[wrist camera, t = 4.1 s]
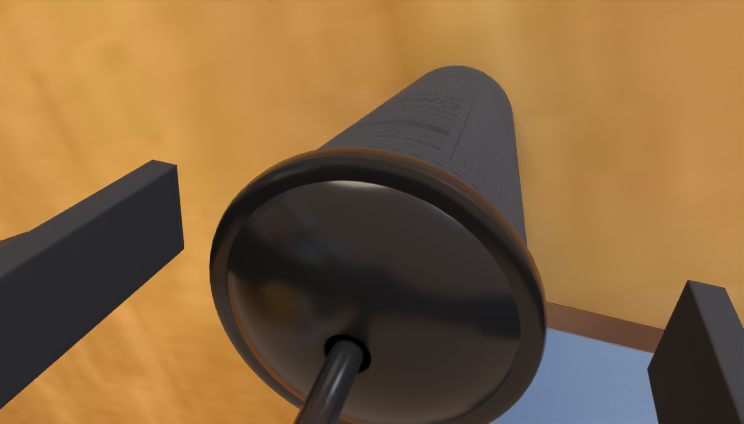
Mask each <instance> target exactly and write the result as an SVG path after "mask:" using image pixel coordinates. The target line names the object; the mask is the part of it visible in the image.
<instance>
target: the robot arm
mask: <svg viewBox="0 0 744 424" xmlns="http://www.w3.org/2000/svg"><path fill="white" fill-rule="evenodd" d="M183 249H184V239H183V228H182V217H181V206H180V195H179V184H178V174H177V165H174V164H170V163H165V162H161V161H156V160H151V161H149V162H148V163H146V164H144V165H143V166H141V167H139V168H137V169H136V170H134V171H132V172H131V173H129V174H127V175H125V176H124V177H122V178H120V179H119V180H117V181H115V182H113V183H112V184H110V185H108V186H107V187H105V188H103V189H101V190H100V191H98V192H96V193H94V194H93V195H91V196H89V197H88V198H86V199H84V200H82V201H81V202H79V203H77V204H76V205H74V206H72V207H70V208H69V209H67V210H65V211H64V212H62V213H60V214H58V215H57V216H55V217H53V218H52V219H50V220H48V221H46V222H45V223H43V224H41V225H40V226H38V227H36V228H34V229H33V230H31V231H29V232H25V233H22V234H19V235H16V236H13V237H10V238H7V239H4V240H2V241H0V409H1V408H2V407H4V406H5V405H6V404H7V403H8V402H9V401H10V400H12V399H13V398H14V397H15V396H16V395H17V394H18V393H20V392H21V391H22V390H23V389H24V388H25V387H26V386H28V385H29V384H30V383H31V382H32V381H33V380H34V379H36V378H37V377H38V376H39V375H40V374H41V373H43V372H44V371H45V370H46V369H47V368H48V367H49V366H51V365H52V364H53V363H54V362H55V361H56V360H57V359H59V358H60V357H61V356H62V355H63V354H64V353H65V352H67V351H68V350H69V349H70V348H71V347H72V346H73V345H75V344H76V343H77V342H78V341H79V340H80V339H81V338H83V337H84V336H85V335H86V334H87V333H88V332H90V331H91V330H92V329H93V328H94V327H95V326H96V325H98V324H99V323H100V322H101V321H102V320H103V319H104V318H106V317H107V316H108V315H109V314H110V313H111V312H112V311H114V310H115V309H116V308H117V307H118V306H119V305H120V304H122V303H123V302H124V301H125V300H126V299H127V298H128V297H130V296H131V295H132V294H133V293H134V292H135V291H136V290H138V289H139V288H140V287H141V286H142V285H143V284H145V283H146V282H147V281H148V280H149V279H150V278H151V277H153V276H154V275H155V274H156V273H157V272H158V271H159V270H161V269H162V268H163V267H164V266H165V265H166V264H167V263H169V262H170V261H171V260H172V259H173V258H174V257H175V256H177V255H178V254H179V253H180V252H181V251H182V250H183ZM647 371H648V376H649V381H650V386H651V391H652V395H653V400H654V405H655V410H656V415H657V420H658V424H744V328H743V326H742V324H741V322H740V320H739V318H738V315H737V313H736V311H735V309H734V307H733V305H732V303H731V300H730V298H729V296H728V294H727V292H726V290H725V288H722V287H718V286H713V285H709V284H704V283H700V282H695V281H691V280H688V281H687V283H686V285H685V287H684V289H683V292H682V294H681V296H680V298H679V300H678V302H677V305H676V307H675V309H674V311H673V313H672V315H671V318H670V320H669V322H668V324H667V326H666V329H665V331H664V333H663V335H662V337H661V339H660V342H659V344H658V346H657V348H656V350H655V352H654V355H653V357H652V359H651V361H650V363H649V366H648V368H647Z"/></svg>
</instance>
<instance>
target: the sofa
mask: <svg viewBox="0 0 744 424" xmlns="http://www.w3.org/2000/svg"><path fill="white" fill-rule="evenodd" d="M546 304H547V337H546V346H545V350H544V355H543V358H542V362H541V364H540V367H539V370H538V372H537V374H536V376H535V377H534V379H533V381H532V383H531V385H530V386H529V387H528V389H527V390H526V392H525V393H524V394H523V396H522V397H521V398H520V399H519V400H518V401H517V402H516V403H515V404H514V405H513V406H512V407H511V408H510V409H509V410H508V411H507V412H505V413H504V414H503V415H502V416H500V417H499V418H497V419H496V420H494V421H493V422H491V423H489V424H658V420H657V415H656V410H655V405H654V400H653V395H652V391H651V386H650V381H649V376H648V371H647V368H648V366H649V363H650V361H651V359H652V357H653V355H654V352H655V350H656V348H657V346H658V344H659V342H660V339H661V337H662V335H663V333H664V331H665V330H662V329H658V328H654V327H649V326H645V325H641V324H637V323H633V322H629V321H624V320H620V319H616V318H612V317H608V316H603V315H599V314H595V313H591V312H587V311H582V310H578V309H574V308H570V307H566V306H561V305H557V304H553V303H549V302H546Z"/></svg>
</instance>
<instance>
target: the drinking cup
mask: <svg viewBox="0 0 744 424" xmlns="http://www.w3.org/2000/svg"><path fill="white" fill-rule="evenodd" d="M209 266H210V267H209V270H210V284H211V291H212V296H213V300H214V304H215V307H216V310H217V313H218V316H219V318H220V321H221V323H222V325H223V327H224V329H225V331H226V333H227V335H228V337H229V339H230V340H231V342H232V344H233V345H234V347H235V348H236V350H237V351H238V353H239V354H240V355H241V357H242V358H243V359H244V361H245V362H246V363H247V364H248V366H249V367H250V368H251V369H252V370H253V371H254V372H255V373H256V374H257V375H258V376H259V377H260V378H261V379H262V380H263V381H264V382H265V383H266V384H267V385H268V386H269V387H270V388H272V389H273V390H274V391H275V392H276V393H278V394H279V395H280V396H281V397H283V398H284V399H286V400H287V401H288V402H290V403H291V404H293V405H294V406H296V407H297V408H299V409H300V411H299V413H298V415H297V417H296V419H295V421H294V423H293V424H489V423H491V422H493V421H494V420H496V419H497V418H499V417H500V416H502V415H503V414H504V413H505V412H507V411H508V410H509V409H510V408H511V407H512V406H513V405H514V404H515V403H516V402H517V401H518V400H519V399H520V398H521V397H522V396H523V394H524V393H525V392H526V390H527V389H528V387H529V386H530V385H531V383H532V381H533V379H534V377H535V376H536V374H537V372H538V370H539V367H540V364H541V362H542V358H543V355H544V350H545V346H546V337H547V304H546V298H545V292H544V287H543V284H542V281H541V277H540V274H539V271H538V269H537V267H536V264H535V262H534V259H533V257H532V255H531V254H530V252H529V250H528V248H527V241H526V232H525V223H524V214H523V204H522V195H521V186H520V177H519V168H518V159H517V150H516V140H515V131H514V122H513V113H512V109H511V105H510V102H509V100H508V98H507V96H506V94H505V92H504V91H503V89H502V88H501V87H500V86H499V85H498V83H496V82H495V81H494V80H493V79H492V78H491V77H489V76H488V75H486V74H485V73H483V72H481V71H478V70H476V69H473V68H469V67H464V66H448V67H443V68H439V69H436V70H434V71H431V72H429V73H427V74H426V75H424V76H423V77H421V78H420V79H418V80H417V81H415V82H414V83H413V84H411V85H410V86H408V87H407V88H405V89H404V90H402V91H401V92H399V93H398V94H397V95H395V96H394V97H392V98H391V99H389V100H388V101H386V102H385V103H384V104H382V105H381V106H379V107H378V108H376V109H375V110H373V111H372V112H371V113H369V114H368V115H366V116H365V117H363V118H362V119H360V120H359V121H357V122H356V123H355V124H353V125H352V126H350V127H349V128H347V129H346V130H344V131H343V132H342V133H340V134H339V135H337V136H336V137H334V138H333V139H331V140H330V141H329V142H327V143H326V144H324V145H323V146H321V147H320V148H318V149H317V150H314V151H310V152H306V153H303V154H299V155H296V156H293V157H291V158H288V159H286V160H283V161H281V162H279V163H277V164H276V165H274V166H272V167H270V168H268V169H267V170H265V171H264V172H263V173H261V174H260V175H258V176H257V177H256V178H254V179H253V180H252V181H251V182H250V183H249V184H248V185H247V186H245V187H244V188H243V189H242V190H241V191H240V192H239V193H238V194H237V196H236V197H235V198H234V199H233V200H232V201H231V203H230V204H229V206H228V207H227V209H226V210H225V212H224V214H223V215H222V218H221V220H220V222H219V224H218V226H217V229H216V232H215V235H214V239H213V243H212V248H211V254H210V265H209Z"/></svg>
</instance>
